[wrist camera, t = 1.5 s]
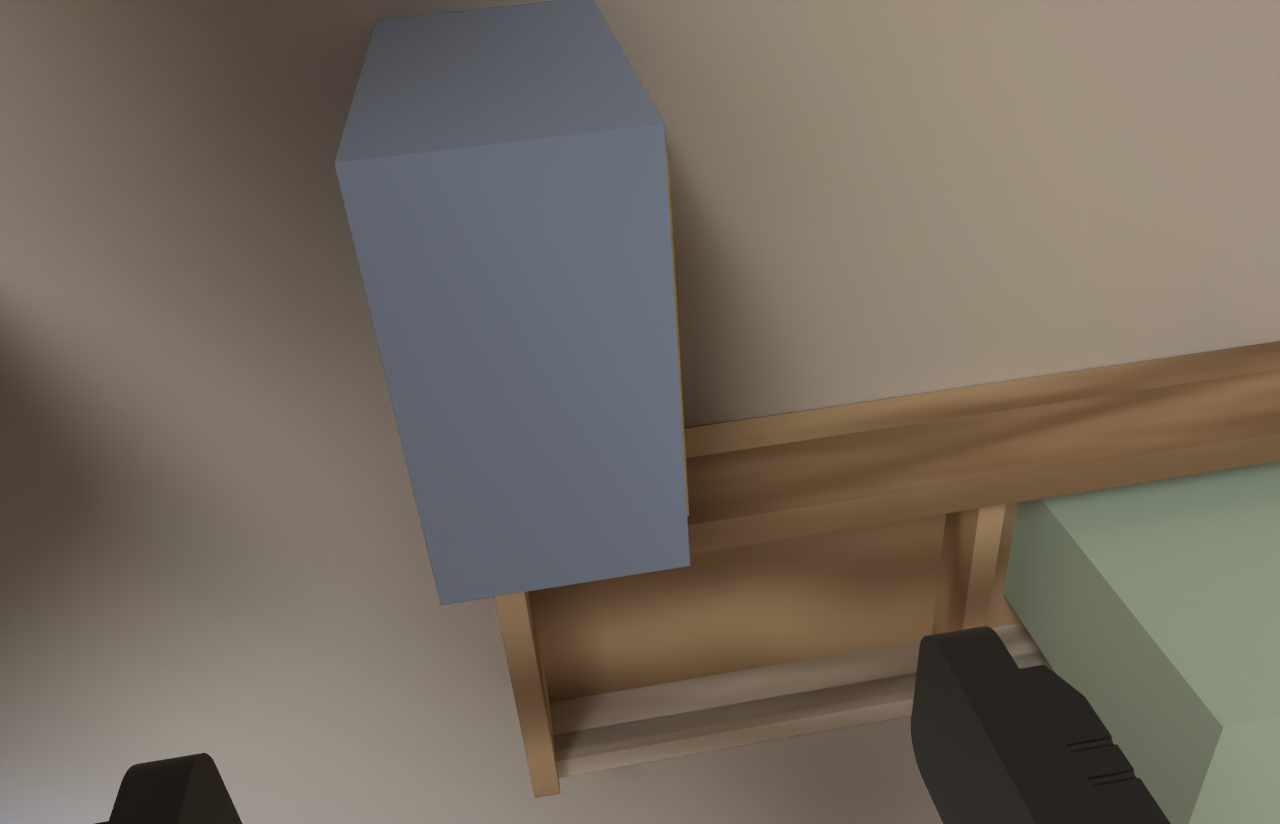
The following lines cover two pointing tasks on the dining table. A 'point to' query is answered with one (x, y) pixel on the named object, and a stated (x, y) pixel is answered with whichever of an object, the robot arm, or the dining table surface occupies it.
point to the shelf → (852, 555)
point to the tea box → (522, 293)
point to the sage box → (1167, 629)
